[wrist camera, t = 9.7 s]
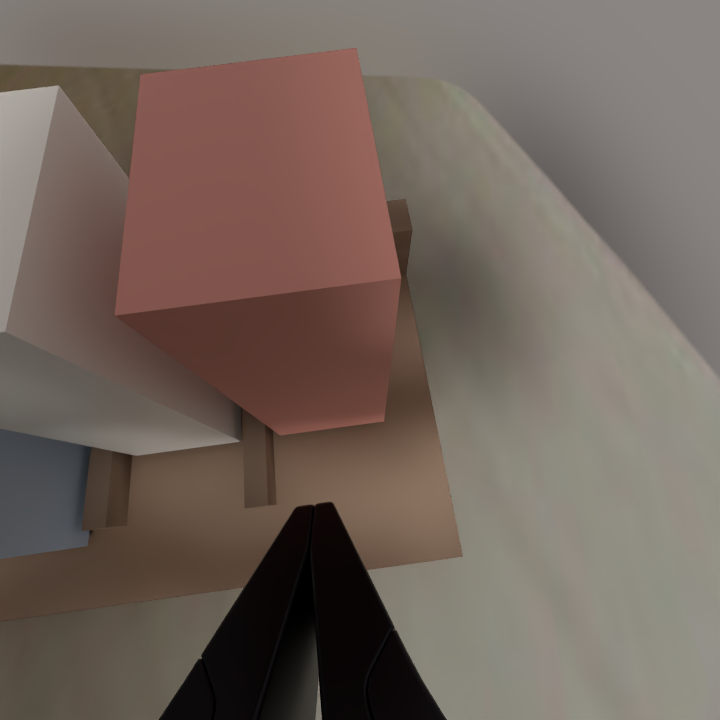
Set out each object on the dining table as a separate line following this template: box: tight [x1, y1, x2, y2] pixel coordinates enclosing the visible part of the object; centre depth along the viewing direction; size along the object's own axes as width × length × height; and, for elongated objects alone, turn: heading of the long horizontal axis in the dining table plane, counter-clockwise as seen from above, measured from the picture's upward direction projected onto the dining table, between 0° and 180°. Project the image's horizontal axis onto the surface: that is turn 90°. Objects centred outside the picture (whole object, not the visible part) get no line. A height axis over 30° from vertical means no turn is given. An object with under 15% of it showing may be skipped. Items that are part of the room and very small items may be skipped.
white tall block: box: [0, 86, 241, 456], centre depth 11 cm, size 5×4×10 cm
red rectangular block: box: [115, 48, 401, 435], centre depth 11 cm, size 5×4×10 cm
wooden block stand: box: [0, 199, 463, 621], centre depth 15 cm, size 13×19×4 cm
